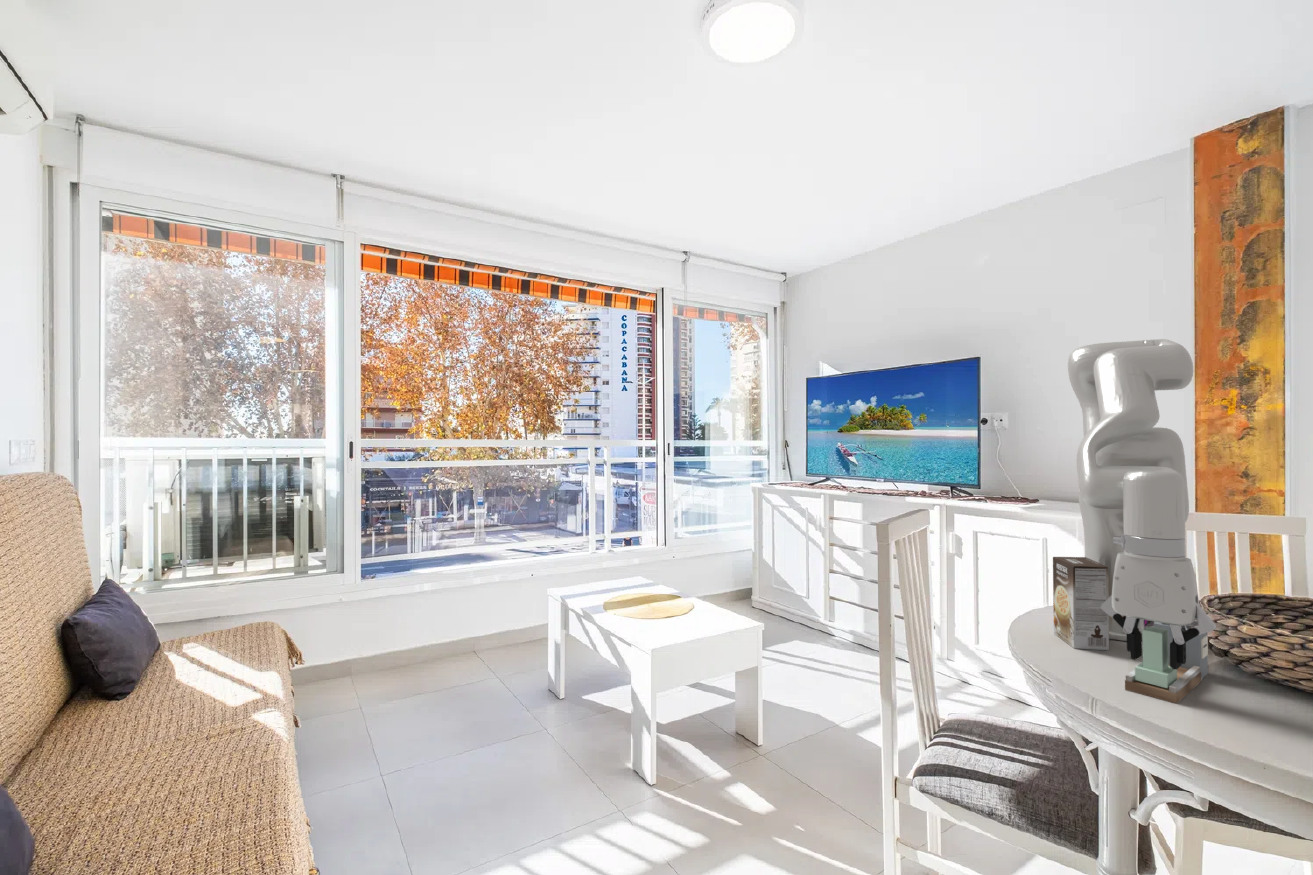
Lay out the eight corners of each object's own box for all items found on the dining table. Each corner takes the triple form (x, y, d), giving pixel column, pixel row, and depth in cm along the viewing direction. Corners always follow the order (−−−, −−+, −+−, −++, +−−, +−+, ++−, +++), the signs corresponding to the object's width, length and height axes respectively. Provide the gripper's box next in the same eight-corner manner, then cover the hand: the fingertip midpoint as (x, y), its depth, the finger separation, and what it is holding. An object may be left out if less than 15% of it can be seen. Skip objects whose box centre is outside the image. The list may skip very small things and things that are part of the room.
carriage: (1145, 672, 97) (1144, 623, 97) (1177, 680, 94) (1176, 629, 94) (1135, 679, 94) (1134, 629, 94) (1167, 688, 91) (1166, 636, 91)
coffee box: (1051, 633, 122) (1050, 555, 122) (1086, 635, 121) (1085, 556, 121) (1073, 649, 113) (1072, 565, 113) (1111, 651, 112) (1110, 566, 112)
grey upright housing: (1163, 662, 106) (1162, 614, 106) (1210, 673, 101) (1209, 623, 101) (1154, 669, 103) (1153, 619, 103) (1202, 680, 98) (1201, 628, 98)
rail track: (1152, 669, 103) (1152, 655, 103) (1201, 681, 98) (1201, 667, 98) (1125, 689, 95) (1124, 675, 95) (1176, 703, 90) (1176, 688, 90)
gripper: (1082, 542, 99) (1084, 652, 99) (1219, 558, 85) (1222, 685, 85) (1099, 538, 103) (1101, 642, 103) (1232, 552, 89) (1234, 673, 89)
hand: (1155, 660), depth 94 cm, fingers open, 4 cm apart
